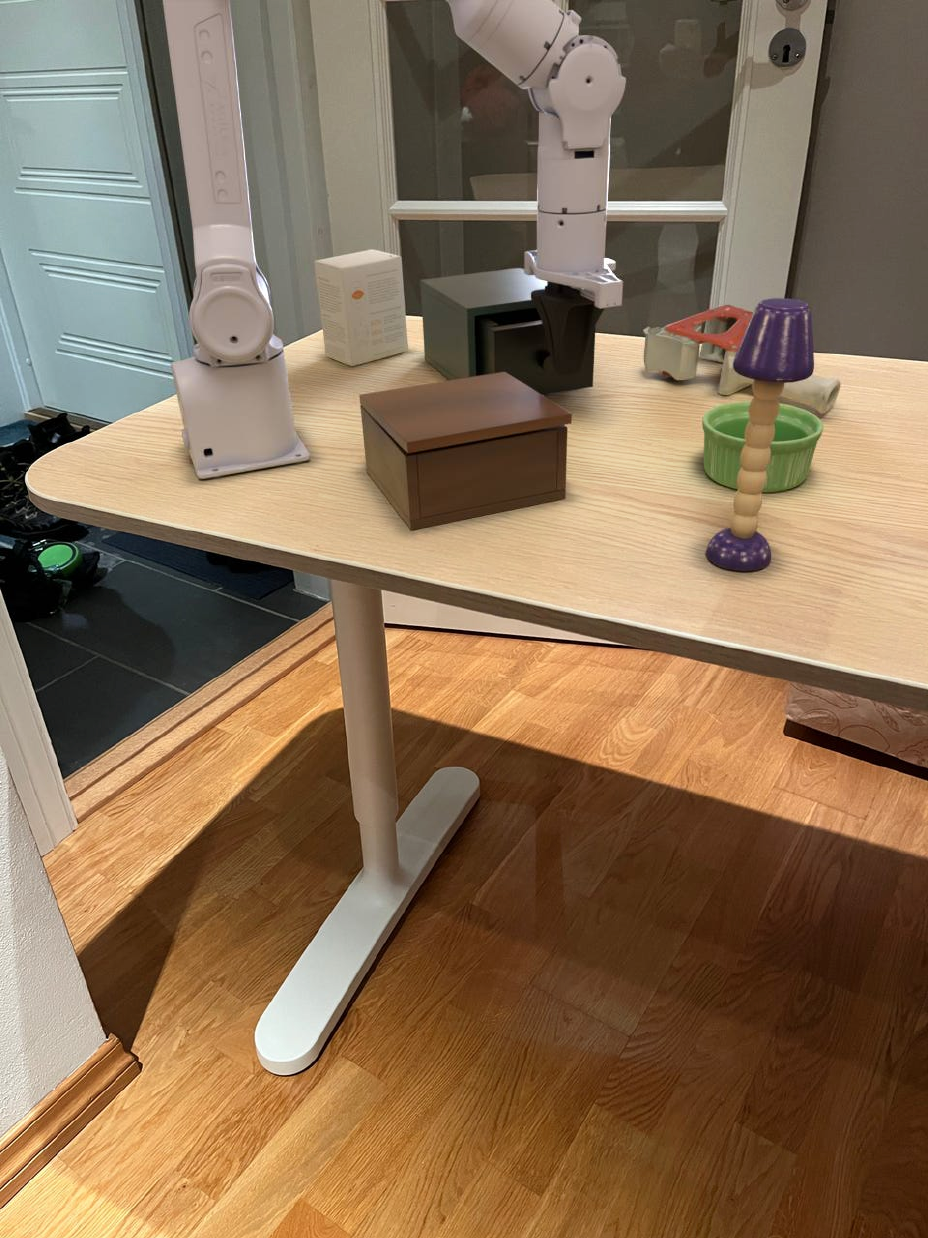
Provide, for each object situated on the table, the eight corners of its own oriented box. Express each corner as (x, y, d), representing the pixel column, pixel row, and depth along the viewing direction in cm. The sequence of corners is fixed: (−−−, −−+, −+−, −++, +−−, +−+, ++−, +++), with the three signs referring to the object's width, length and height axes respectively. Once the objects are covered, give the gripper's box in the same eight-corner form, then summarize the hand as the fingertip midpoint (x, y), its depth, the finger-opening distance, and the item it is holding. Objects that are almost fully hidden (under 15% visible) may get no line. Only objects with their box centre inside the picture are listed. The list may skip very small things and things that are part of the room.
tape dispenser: (840, 434, 82) (796, 354, 98) (855, 378, 79) (808, 305, 95) (644, 425, 83) (633, 347, 99) (652, 369, 80) (639, 299, 96)
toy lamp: (728, 533, 64) (762, 289, 55) (791, 553, 61) (838, 299, 52) (694, 559, 61) (724, 305, 52) (759, 581, 58) (803, 317, 49)
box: (565, 498, 70) (567, 426, 66) (410, 530, 66) (405, 456, 63) (505, 446, 79) (505, 381, 76) (366, 472, 75) (360, 404, 72)
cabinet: (574, 379, 93) (576, 293, 88) (469, 397, 90) (466, 308, 85) (519, 345, 104) (519, 267, 99) (424, 360, 101) (420, 279, 96)
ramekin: (697, 448, 77) (702, 398, 74) (808, 454, 75) (817, 402, 73) (696, 493, 70) (702, 439, 67) (819, 500, 68) (830, 445, 65)
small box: (381, 342, 107) (373, 248, 101) (409, 352, 103) (403, 254, 98) (324, 356, 103) (312, 259, 97) (351, 367, 99) (340, 267, 94)
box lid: (571, 423, 66) (572, 412, 65) (407, 453, 62) (406, 442, 62) (505, 380, 76) (504, 371, 75) (360, 404, 72) (359, 394, 72)
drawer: (599, 390, 87) (602, 319, 84) (500, 407, 84) (499, 333, 81) (538, 353, 98) (539, 288, 95) (449, 367, 95) (446, 300, 92)
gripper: (661, 216, 69) (648, 388, 77) (575, 193, 81) (570, 345, 88) (579, 225, 67) (573, 401, 75) (502, 200, 79) (504, 355, 86)
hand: (567, 372), depth 81 cm, fingers closed
